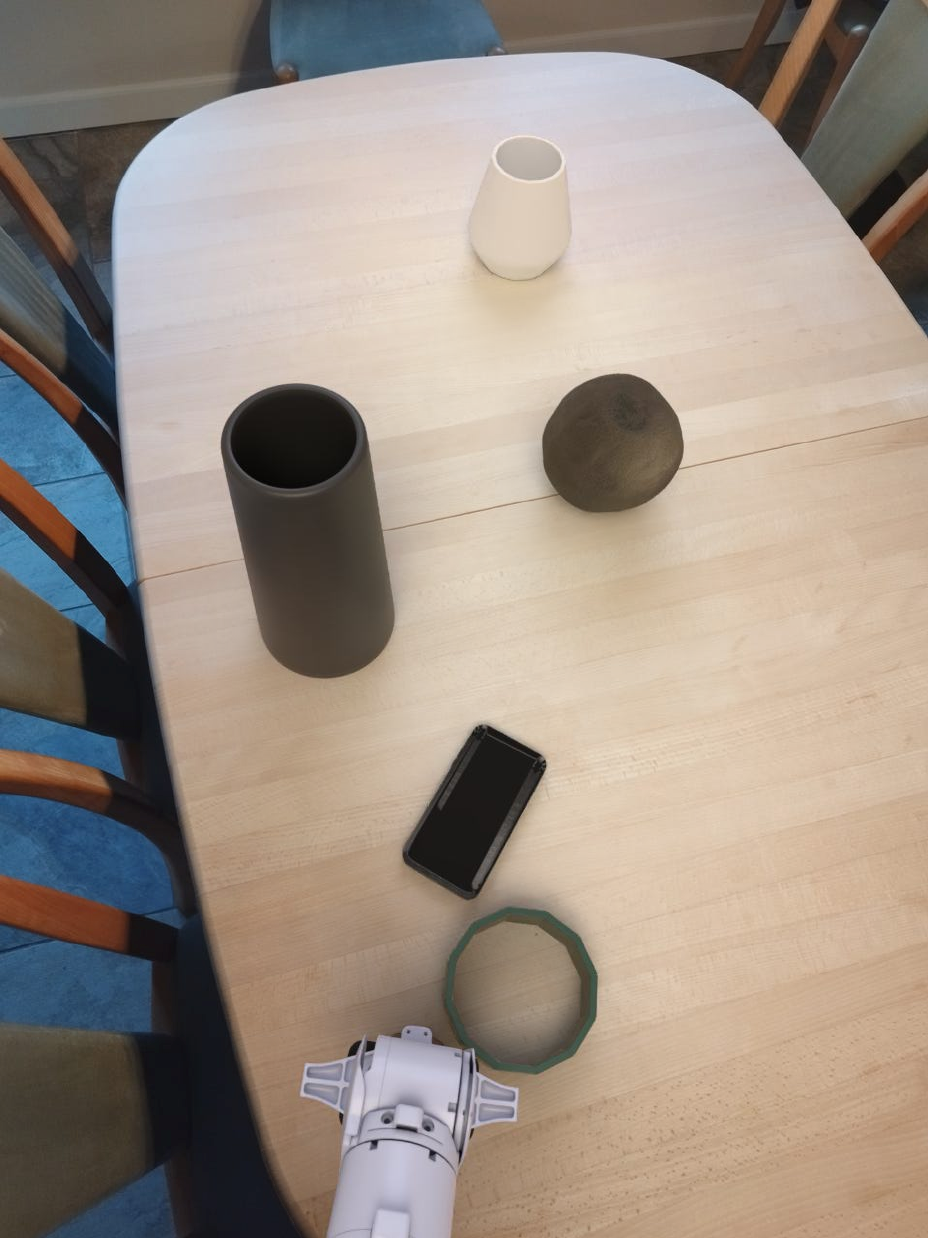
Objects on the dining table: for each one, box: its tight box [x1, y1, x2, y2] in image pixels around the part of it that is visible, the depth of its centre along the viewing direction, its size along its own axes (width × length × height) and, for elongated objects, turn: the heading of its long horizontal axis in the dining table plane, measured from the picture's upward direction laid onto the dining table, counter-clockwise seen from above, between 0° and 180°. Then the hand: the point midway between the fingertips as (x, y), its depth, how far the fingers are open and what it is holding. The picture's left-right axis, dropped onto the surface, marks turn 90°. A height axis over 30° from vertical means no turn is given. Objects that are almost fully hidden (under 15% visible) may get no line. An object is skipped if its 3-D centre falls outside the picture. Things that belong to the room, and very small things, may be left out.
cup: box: [466, 134, 573, 282], centre depth 108 cm, size 13×13×14 cm
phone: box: [402, 724, 547, 901], centre depth 80 cm, size 8×1×15 cm
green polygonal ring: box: [442, 906, 599, 1076], centre depth 72 cm, size 12×12×4 cm
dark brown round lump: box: [541, 372, 685, 514], centre depth 91 cm, size 14×14×15 cm
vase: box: [220, 382, 395, 679], centre depth 76 cm, size 14×14×29 cm
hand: (409, 1088), depth 66 cm, fingers open, 4 cm apart
